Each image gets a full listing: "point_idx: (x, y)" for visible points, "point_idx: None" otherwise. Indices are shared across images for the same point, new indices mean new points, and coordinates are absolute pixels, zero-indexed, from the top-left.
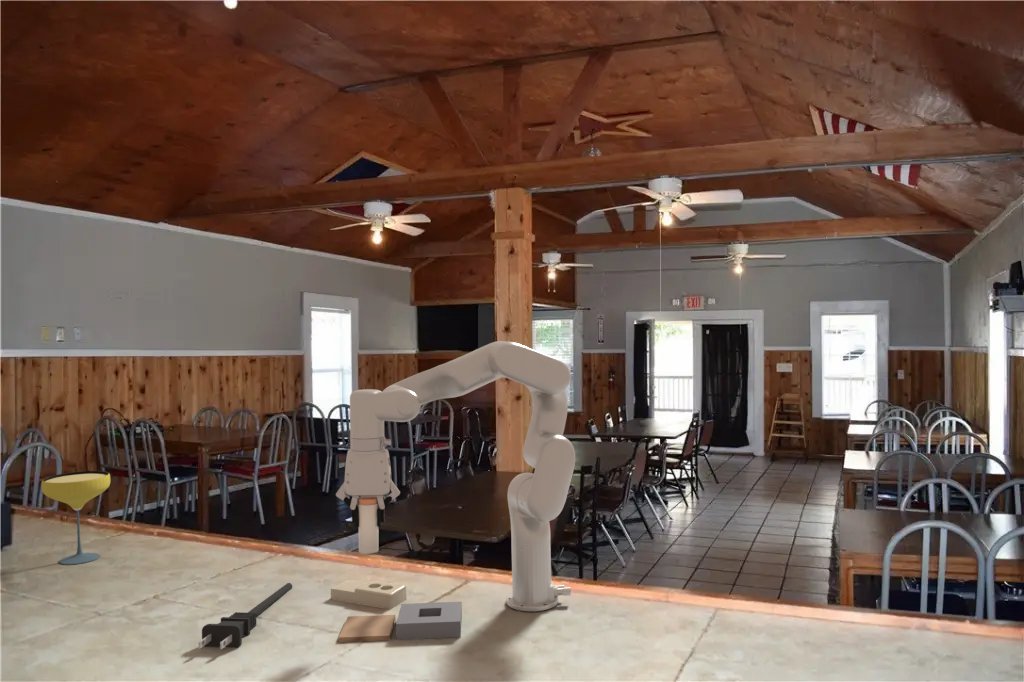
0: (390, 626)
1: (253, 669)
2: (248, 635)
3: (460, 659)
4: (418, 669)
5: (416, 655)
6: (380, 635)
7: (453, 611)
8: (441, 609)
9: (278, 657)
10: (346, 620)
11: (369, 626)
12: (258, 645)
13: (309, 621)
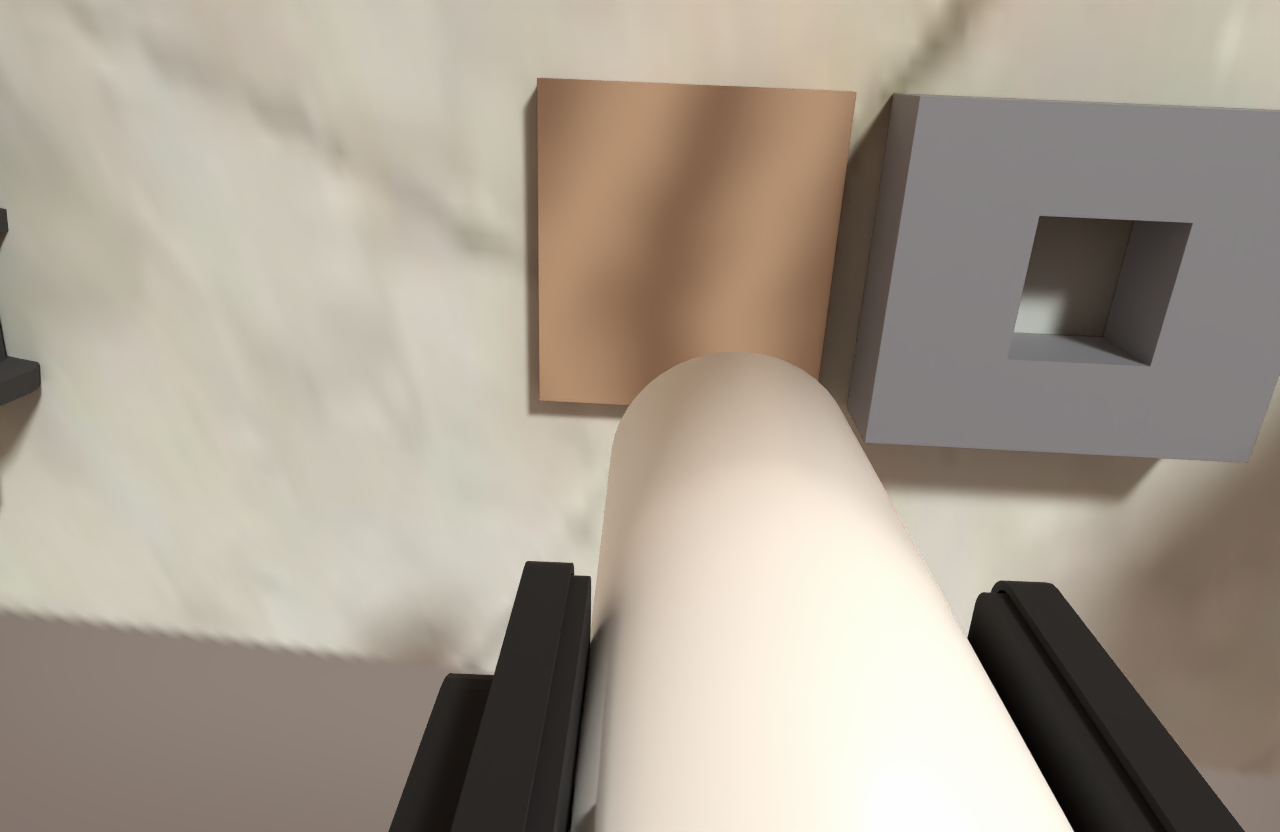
0: (820, 291)
1: (228, 608)
2: (7, 229)
3: (1123, 647)
4: None
5: None
6: None
7: (1254, 301)
8: (1184, 253)
9: (291, 515)
10: (539, 150)
11: (695, 272)
12: (131, 370)
13: (289, 49)
